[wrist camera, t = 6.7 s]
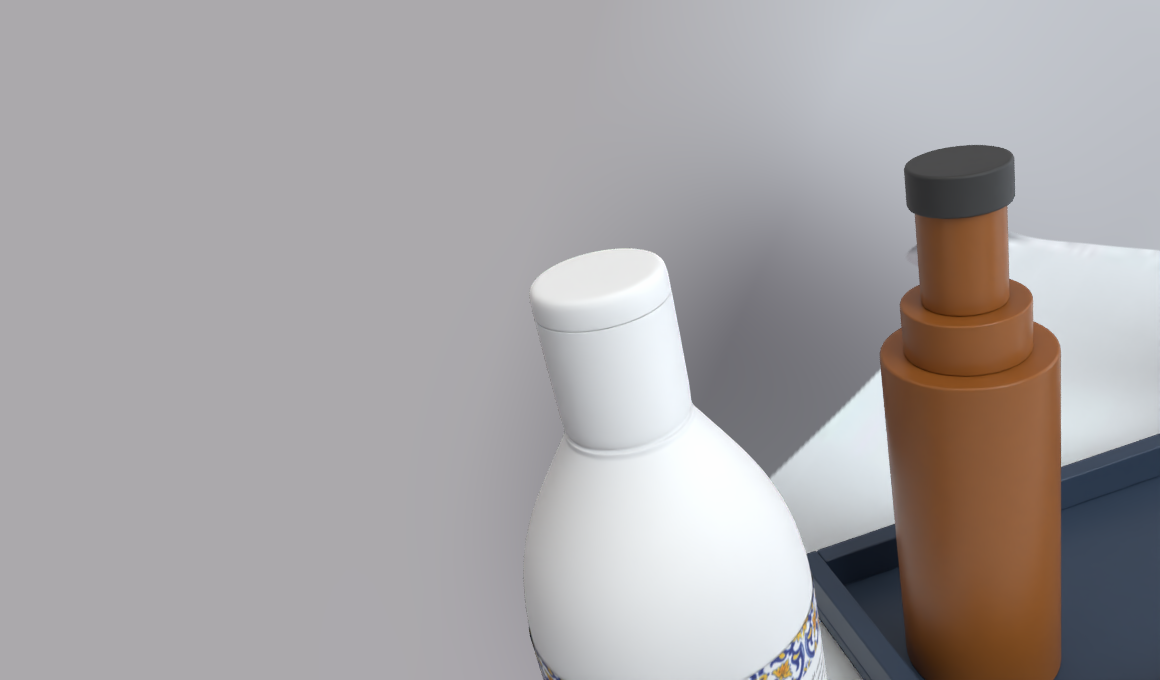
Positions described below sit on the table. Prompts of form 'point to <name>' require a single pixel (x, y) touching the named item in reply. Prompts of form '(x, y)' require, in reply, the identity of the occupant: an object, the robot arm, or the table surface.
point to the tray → (1088, 577)
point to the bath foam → (652, 504)
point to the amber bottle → (973, 435)
